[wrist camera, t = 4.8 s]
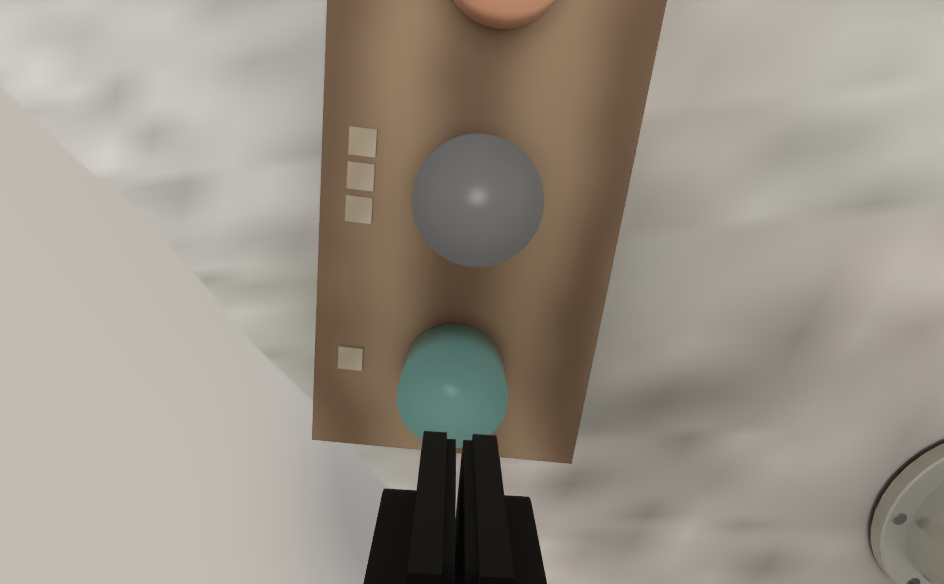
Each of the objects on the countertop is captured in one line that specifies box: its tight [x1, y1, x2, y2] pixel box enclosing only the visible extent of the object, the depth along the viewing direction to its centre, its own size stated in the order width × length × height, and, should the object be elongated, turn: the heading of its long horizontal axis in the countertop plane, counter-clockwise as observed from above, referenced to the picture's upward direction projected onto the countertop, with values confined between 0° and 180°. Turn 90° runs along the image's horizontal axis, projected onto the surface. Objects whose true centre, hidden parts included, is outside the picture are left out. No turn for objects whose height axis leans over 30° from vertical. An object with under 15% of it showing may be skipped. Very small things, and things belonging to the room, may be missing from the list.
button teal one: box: [397, 324, 508, 448], centre depth 25 cm, size 5×5×3 cm
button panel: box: [312, 0, 667, 464], centre depth 25 cm, size 14×28×3 cm, turn 173°
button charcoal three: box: [412, 133, 544, 267], centre depth 21 cm, size 5×5×3 cm
